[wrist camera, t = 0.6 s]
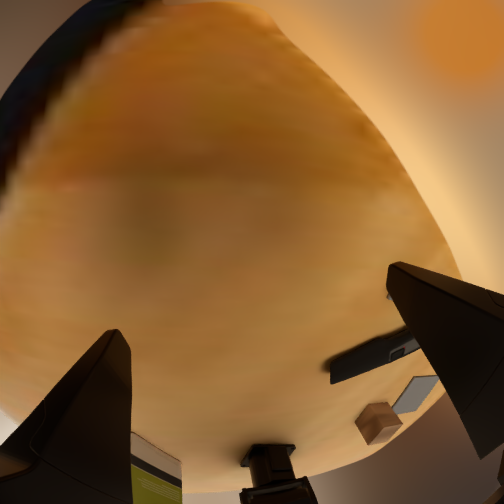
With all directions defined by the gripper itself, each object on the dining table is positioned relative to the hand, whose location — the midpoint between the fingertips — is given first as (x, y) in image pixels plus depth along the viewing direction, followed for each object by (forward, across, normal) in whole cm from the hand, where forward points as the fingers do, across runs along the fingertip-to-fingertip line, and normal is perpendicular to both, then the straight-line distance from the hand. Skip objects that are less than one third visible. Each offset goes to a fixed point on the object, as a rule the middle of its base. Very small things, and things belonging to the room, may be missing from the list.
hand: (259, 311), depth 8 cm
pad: (+8, -22, +34) cm, 41 cm away
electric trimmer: (+11, -14, +20) cm, 27 cm away
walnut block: (+8, -14, +33) cm, 36 cm away
